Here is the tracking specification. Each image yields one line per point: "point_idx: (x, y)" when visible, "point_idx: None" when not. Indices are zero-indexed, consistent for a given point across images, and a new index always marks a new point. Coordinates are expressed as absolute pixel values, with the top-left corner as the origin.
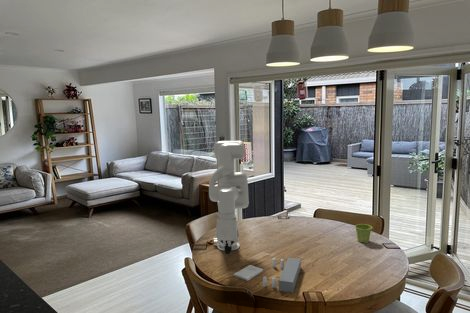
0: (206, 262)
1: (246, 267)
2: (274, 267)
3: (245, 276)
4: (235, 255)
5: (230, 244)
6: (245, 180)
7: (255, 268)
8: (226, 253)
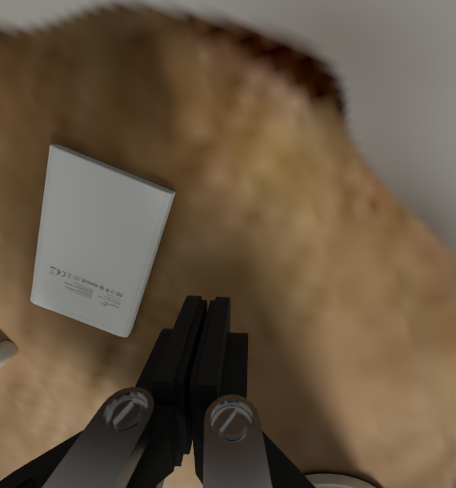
0: (421, 336)
1: (127, 302)
2: (3, 341)
3: (76, 177)
4: None
5: (91, 427)
6: None
7: (72, 300)
8: (214, 302)
